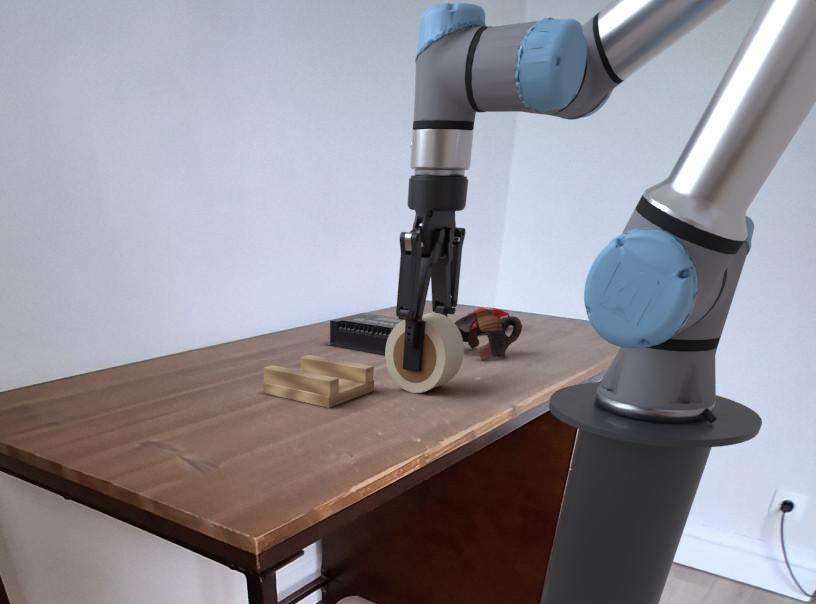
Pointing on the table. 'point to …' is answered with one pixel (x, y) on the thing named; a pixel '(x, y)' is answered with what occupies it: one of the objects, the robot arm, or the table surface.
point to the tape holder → (319, 381)
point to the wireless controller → (362, 332)
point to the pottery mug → (489, 332)
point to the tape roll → (427, 354)
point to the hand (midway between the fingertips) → (423, 365)
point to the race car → (497, 313)
